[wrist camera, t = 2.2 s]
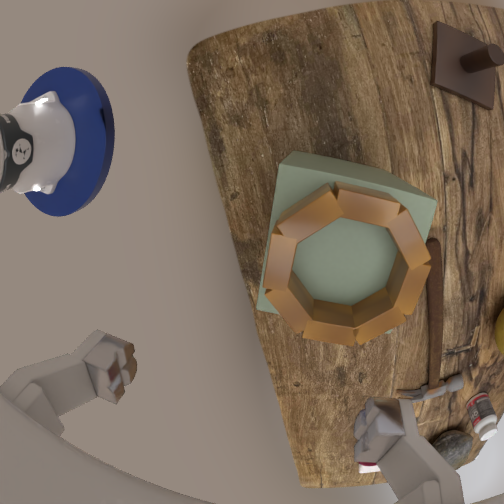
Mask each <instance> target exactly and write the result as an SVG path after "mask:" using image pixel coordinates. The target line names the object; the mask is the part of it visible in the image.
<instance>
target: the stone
mask: <svg viewBox="0 0 504 504" xmlns="http://www.w3.org/2000/svg"><path fill="white" fill-rule="evenodd" d="M472 440H473V437H472V436H471V435H470V434H466V433H464V432H461V431H457V430H452V431H447V432H445V433H443V434H441V435H440V436H439V437H438V438H437V439H436V440H435V442H434V443H433V444H432V446H433V447H434V448H435V450H436V451H437V452H438V453H439V454H440V455H441V456H442V457H443V458H444V459H445V460H446V461H447V462H448V464H449V465H450V466H451V467H452V468H453V469H454V470H457V469H458V468H460V467H461V466H462V465H463V464H464V463H465V461H466V460H467V459H468V456H469V453H470V450H471V448H472Z"/></svg>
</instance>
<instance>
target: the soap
mask: <svg viewBox="0 0 504 504" xmlns="http://www.w3.org/2000/svg"><path fill="white" fill-rule="evenodd" d="M376 471H381V470H380V469H379V467H378V466H377V465H376V466H363V465H360V464H359V473H368V472H376Z"/></svg>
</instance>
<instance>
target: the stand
mask: <svg viewBox="0 0 504 504" xmlns="http://www.w3.org/2000/svg"><path fill="white" fill-rule="evenodd" d="M503 64H504V53H503V51H502V50H501V48H500V47H499V46H497V45H495V44H489V45H487V44H485V43H483V42H481V41H479V40H478V39H476V38H474V37H472V36H470V35H468V34H466V33H464V32H462V31H459V30H457V29H455V28H453V27H451V26H448V25H446V24H444V23H442V22H439V21H437V22H435V23H434V24H433V55H432V71H431V82H430V85H432V86H435V87H437V88H440V89H442V90H445V91H447V92H450V93H452V94H454V95H457V96H459V97H461V98H464V99H466V100H468V101H470V102H472V103H474V104H477V105H479V106H481V107H483V108H485V109H487V110H493V105H494V92H495V67H496V66H500V65H503Z"/></svg>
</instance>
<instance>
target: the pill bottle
mask: <svg viewBox="0 0 504 504" xmlns="http://www.w3.org/2000/svg"><path fill="white" fill-rule="evenodd" d="M466 407H467V411H468V413H469V416H470V419H471V422H472V425H473V429H474V431H475V432H476V433H479V437H480V440H481V441H484V440H487V439H489V438H491V437H492V436H493V435H495V434H496V432H497V426H496V424H495V423H496V421H497V417H496V414H495V411H494V409H493V407H492V404H491V402H490V399H489V397H488V395H487V393H479V394H477V395H475V396H474V397H472V398H471V399H470V400H469V401H468V403H467V406H466Z"/></svg>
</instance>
